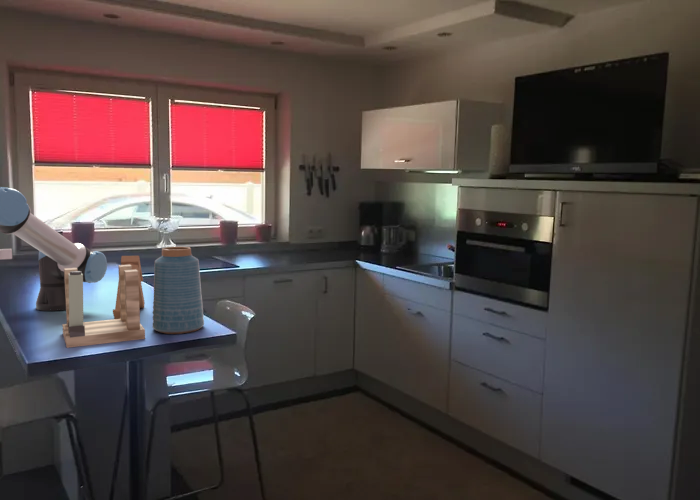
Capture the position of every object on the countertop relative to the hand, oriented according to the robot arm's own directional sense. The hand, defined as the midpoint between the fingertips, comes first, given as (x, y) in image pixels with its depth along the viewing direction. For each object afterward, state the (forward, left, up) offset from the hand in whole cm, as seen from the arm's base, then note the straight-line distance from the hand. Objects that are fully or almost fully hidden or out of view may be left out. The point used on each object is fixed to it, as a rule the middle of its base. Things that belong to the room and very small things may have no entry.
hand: (11, 253), depth 170 cm
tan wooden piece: (-31, +36, -28) cm, 55 cm away
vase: (-5, +47, -28) cm, 55 cm away
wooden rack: (-6, +24, -28) cm, 37 cm away
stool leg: (0, +16, -23) cm, 28 cm away
